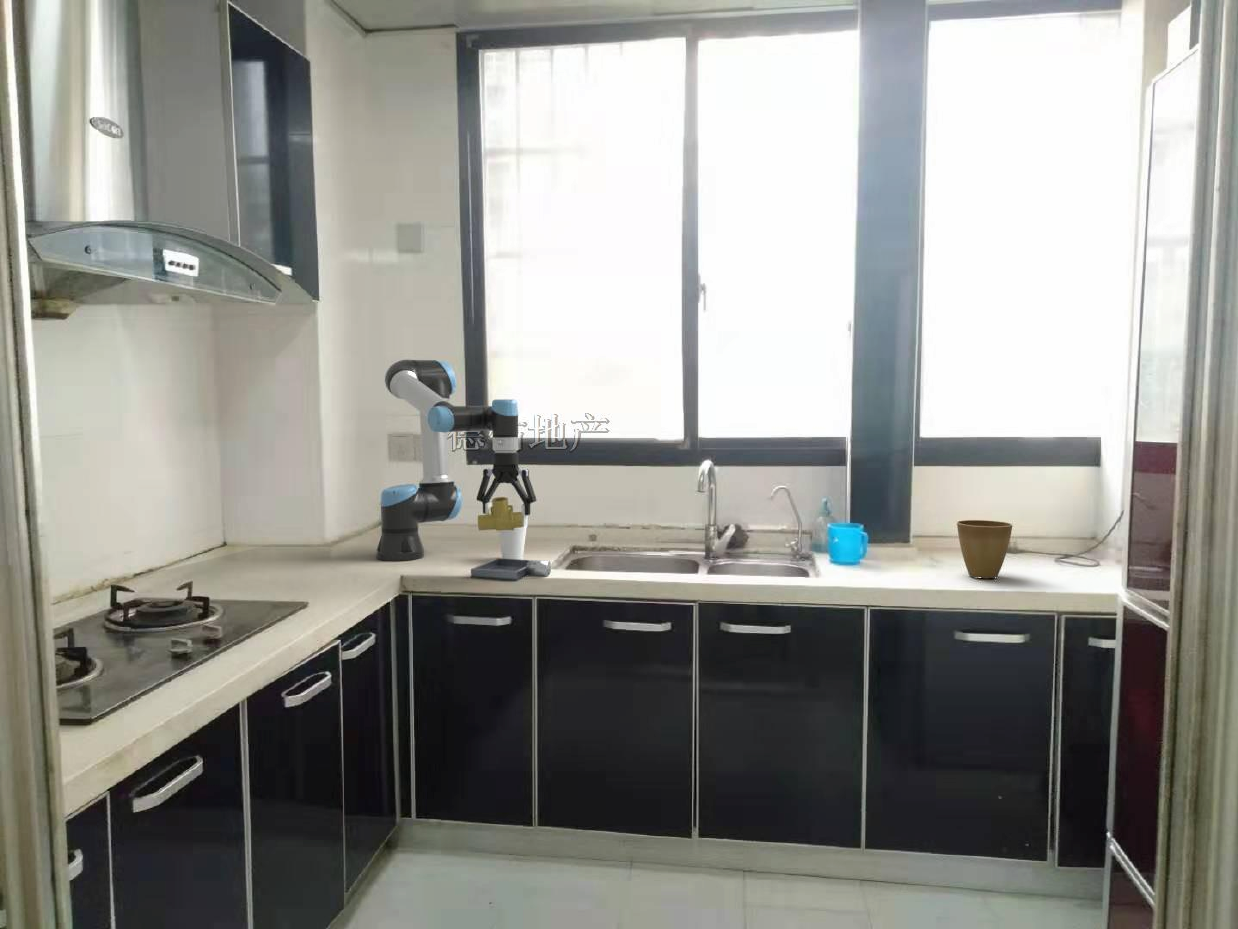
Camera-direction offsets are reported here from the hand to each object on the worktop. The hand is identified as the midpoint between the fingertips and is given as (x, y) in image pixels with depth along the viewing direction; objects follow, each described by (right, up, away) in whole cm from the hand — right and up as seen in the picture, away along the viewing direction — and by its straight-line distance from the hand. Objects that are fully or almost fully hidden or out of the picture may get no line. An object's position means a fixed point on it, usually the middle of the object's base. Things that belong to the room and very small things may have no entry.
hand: (506, 525), depth 248 cm
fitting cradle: (+3, -14, 0) cm, 15 cm away
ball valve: (-2, -1, -1) cm, 2 cm away
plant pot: (+140, -15, -3) cm, 141 cm away
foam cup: (-1, -13, +22) cm, 25 cm away
